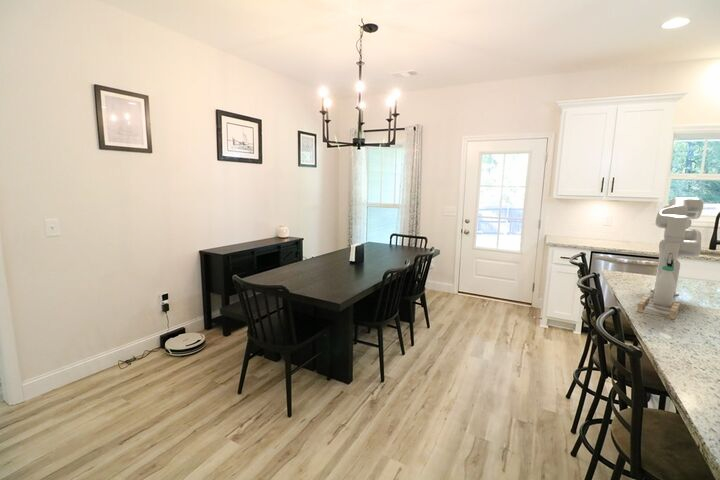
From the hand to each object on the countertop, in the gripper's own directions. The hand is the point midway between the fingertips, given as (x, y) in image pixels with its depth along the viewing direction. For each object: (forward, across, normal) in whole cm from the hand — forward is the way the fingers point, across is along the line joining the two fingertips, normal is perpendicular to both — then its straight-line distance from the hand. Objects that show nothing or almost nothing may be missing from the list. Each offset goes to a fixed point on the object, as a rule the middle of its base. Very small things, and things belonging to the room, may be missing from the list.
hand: (668, 273), depth 184 cm
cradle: (+15, +21, 0) cm, 26 cm away
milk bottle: (+15, +7, 0) cm, 17 cm away
